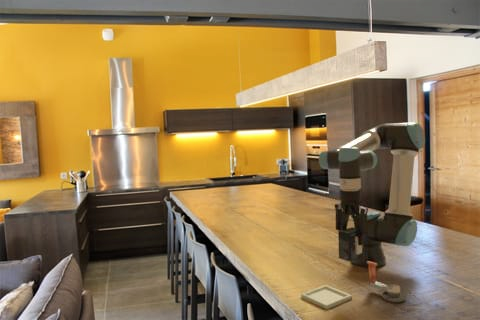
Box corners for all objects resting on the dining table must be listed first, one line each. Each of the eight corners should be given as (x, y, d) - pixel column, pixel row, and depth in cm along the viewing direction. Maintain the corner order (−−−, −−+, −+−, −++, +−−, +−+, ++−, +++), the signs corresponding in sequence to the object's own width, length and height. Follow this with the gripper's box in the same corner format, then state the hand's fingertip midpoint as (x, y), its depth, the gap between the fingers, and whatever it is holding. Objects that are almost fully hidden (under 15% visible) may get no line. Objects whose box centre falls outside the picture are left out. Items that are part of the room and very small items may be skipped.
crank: (402, 294, 145) (402, 268, 145) (395, 298, 143) (394, 271, 142) (371, 284, 156) (371, 259, 155) (364, 287, 154) (363, 262, 153)
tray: (301, 297, 151) (301, 293, 151) (325, 288, 158) (325, 284, 158) (326, 309, 140) (326, 305, 140) (351, 299, 148) (351, 295, 147)
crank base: (377, 298, 147) (377, 295, 147) (391, 292, 152) (390, 289, 151) (396, 305, 140) (396, 302, 140) (410, 299, 145) (410, 295, 145)
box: (350, 262, 144) (349, 232, 143) (338, 258, 149) (337, 230, 148) (364, 257, 148) (364, 229, 148) (352, 254, 153) (351, 226, 152)
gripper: (324, 188, 152) (326, 248, 154) (364, 193, 137) (366, 259, 139) (337, 186, 157) (339, 244, 158) (378, 190, 141) (379, 255, 143)
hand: (351, 251), depth 149 cm, fingers closed on box, 6 cm apart
